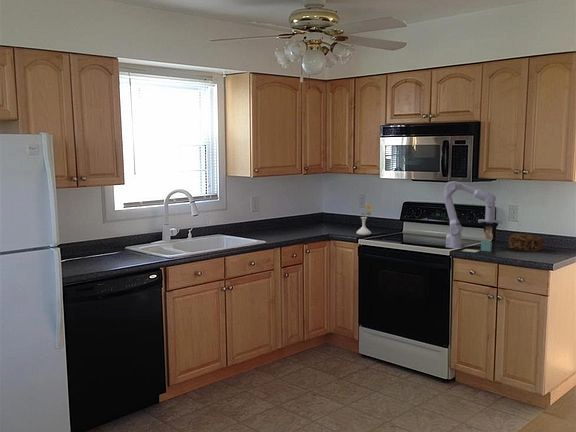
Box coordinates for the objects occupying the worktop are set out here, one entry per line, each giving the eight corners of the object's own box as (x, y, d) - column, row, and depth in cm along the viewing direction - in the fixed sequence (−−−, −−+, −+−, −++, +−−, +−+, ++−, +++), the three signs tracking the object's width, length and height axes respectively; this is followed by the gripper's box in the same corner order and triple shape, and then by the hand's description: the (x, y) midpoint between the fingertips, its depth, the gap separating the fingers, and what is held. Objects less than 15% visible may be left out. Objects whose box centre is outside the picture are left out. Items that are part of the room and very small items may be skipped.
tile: (480, 251, 355) (481, 240, 354) (481, 251, 356) (481, 240, 355) (490, 252, 351) (490, 241, 351) (490, 252, 352) (491, 241, 352)
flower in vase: (359, 236, 422) (359, 203, 419) (354, 234, 433) (354, 202, 430) (375, 235, 425) (375, 203, 422) (369, 233, 436) (370, 201, 433)
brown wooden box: (485, 239, 358) (485, 226, 357) (486, 238, 360) (486, 226, 359) (491, 239, 355) (492, 227, 354) (493, 239, 357) (493, 226, 356)
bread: (507, 248, 365) (508, 233, 364) (515, 246, 372) (515, 232, 371) (536, 252, 352) (537, 236, 351) (543, 250, 359) (544, 234, 358)
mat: (461, 251, 354) (461, 250, 354) (466, 249, 361) (466, 248, 361) (475, 253, 348) (475, 252, 348) (480, 251, 355) (480, 250, 355)
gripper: (476, 213, 357) (476, 234, 359) (499, 214, 348) (499, 236, 350) (480, 212, 363) (479, 232, 364) (503, 213, 354) (502, 234, 355)
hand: (489, 234), depth 357 cm, fingers closed on brown wooden box, 4 cm apart
